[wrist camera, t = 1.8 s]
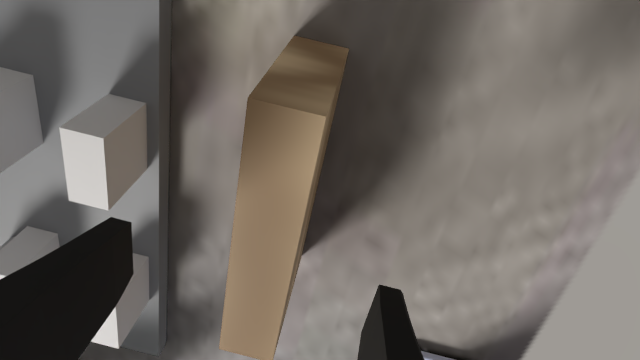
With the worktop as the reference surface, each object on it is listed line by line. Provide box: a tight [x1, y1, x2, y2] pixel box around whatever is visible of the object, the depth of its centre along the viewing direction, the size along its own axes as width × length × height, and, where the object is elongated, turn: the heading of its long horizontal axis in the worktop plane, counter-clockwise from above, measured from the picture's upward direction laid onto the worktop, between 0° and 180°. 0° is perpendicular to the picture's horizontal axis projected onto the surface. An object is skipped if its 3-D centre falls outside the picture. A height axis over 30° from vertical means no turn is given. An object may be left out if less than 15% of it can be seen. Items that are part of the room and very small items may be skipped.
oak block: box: [219, 36, 349, 360], centre depth 17 cm, size 2×10×6 cm, turn 169°
